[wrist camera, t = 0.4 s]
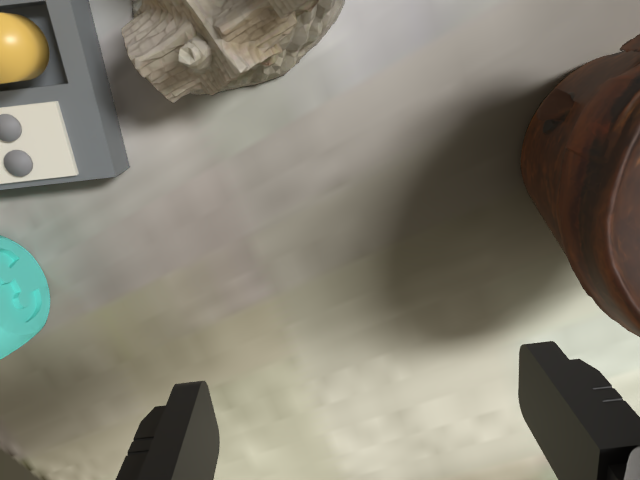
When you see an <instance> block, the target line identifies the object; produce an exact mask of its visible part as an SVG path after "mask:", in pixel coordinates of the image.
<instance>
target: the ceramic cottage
mask: <svg viewBox="0 0 640 480" xmlns="http://www.w3.org/2000/svg"><path fill="white" fill-rule="evenodd" d="M344 3H345V0H133V14H134V16H133V17H134V19H133V20H131V21H130V22H129V23H128V24H127V25H126V26H124V27H123V28H122V35H123V37H124V41H125V47H126V50H127V53H128V56H129V58H130V60H131V61H132V63H133V65H134V67H135V69H137V71H138V73H139V74H140V75H141V76H142V77H145V78H146V79H147V80H148V81H149V82H150V83H151V84H152V85H153V86H154V87H155V88H156V89H157V90H158V91H159V92H160V93H161V94H162V95H164V96H165V97H166V98H167V99H168V100H169V101H171V102H173V103H174V102H176V101H177V100H178V99H180V98H181V97H182V96H185V95H187V94H189V93H192V94H210V95H214V94H216V93H217V92H221V91H224V90H230V89H236V88H239V87H243V86H249V85H257V84H260V83H263V82H266V81H268V80H271V79H275V78H277V77H280V76H283V75H284V74H286V73H287V72H288V71H289V70H290V69H291V68H292V67H294V66H295V65H296V64H297V63H299V60H300V59H301V58H302V57H303V56H304V55H305V54H306V53H307V52H308V51H309V50H310V49H312V48H313V47H314V46H315V45H317V43H318V42H319V41H320V40H321V39H322V37H323V36H324V35H325V34H326V33H327V31H328V29H330V27H331V25H332V24H334V23H335V21H336V20H337V18H338V16H339V14H340V12H341V10H342V8H343V6H344Z"/></svg>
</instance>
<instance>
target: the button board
mask: <svg viewBox="0 0 640 480" xmlns="http://www.w3.org/2000/svg"><path fill="white" fill-rule="evenodd" d="M0 12H2V13H12V14H18V15H22V16H24V17H26V18H28V19H30V20H31V21H33V22H34V23H35V24H36V25H37V26H38V27H39V28H40V29H41V31H42V32H43V34H44V35H45V37H46V39H47V42H48V45H49V52H50V55H49V62H48V65H47V67H46V69H45V70H44V72H43V73H42V74H41V75H39V76H38V77H36V78H34V79H31V80H25V81H18V82H10V83H2V84H0V190H4V189H13V188H22V187H31V186H40V185H48V184H57V183H66V182H75V181H84V180H92V179H101V178H110V177H116V176H118V175H119V174H121V173H122V172H124V171H125V170H126V169H128V168H129V167H130V166H129V162H128V158H127V154H126V150H125V146H124V142H123V138H122V134H121V130H120V126H119V122H118V118H117V114H116V110H115V106H114V102H113V98H112V94H111V90H110V86H109V82H108V78H107V74H106V70H105V65H104V61H103V57H102V53H101V49H100V45H99V41H98V37H97V33H96V29H95V25H94V21H93V17H92V13H91V9H90V5H89V1H88V0H0Z"/></svg>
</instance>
